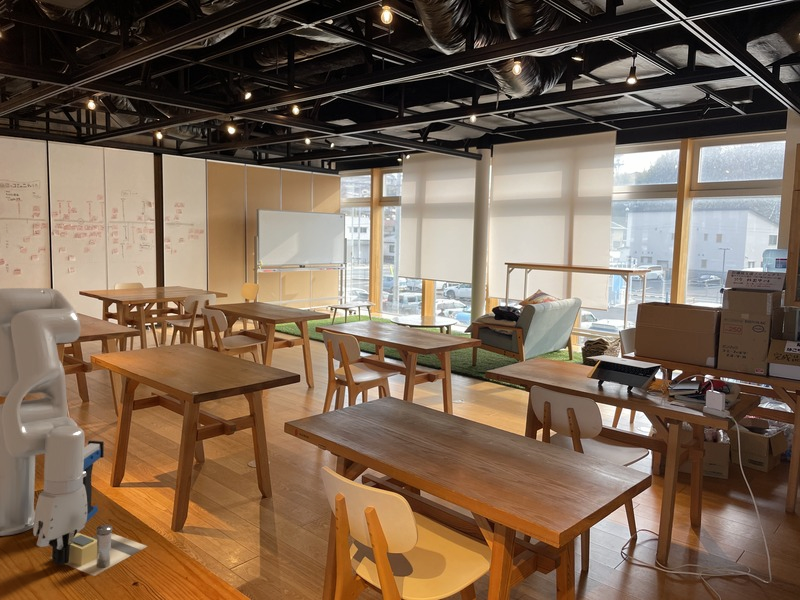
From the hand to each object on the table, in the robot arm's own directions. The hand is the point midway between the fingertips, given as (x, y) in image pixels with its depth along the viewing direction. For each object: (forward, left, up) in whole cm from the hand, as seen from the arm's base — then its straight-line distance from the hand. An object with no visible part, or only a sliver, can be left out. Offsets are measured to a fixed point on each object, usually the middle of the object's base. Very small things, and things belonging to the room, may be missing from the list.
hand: (60, 562), depth 132 cm
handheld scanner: (-15, +17, -2) cm, 23 cm away
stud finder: (0, +5, -1) cm, 5 cm away
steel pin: (+7, +5, -1) cm, 9 cm away
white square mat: (+2, +9, -2) cm, 9 cm away
